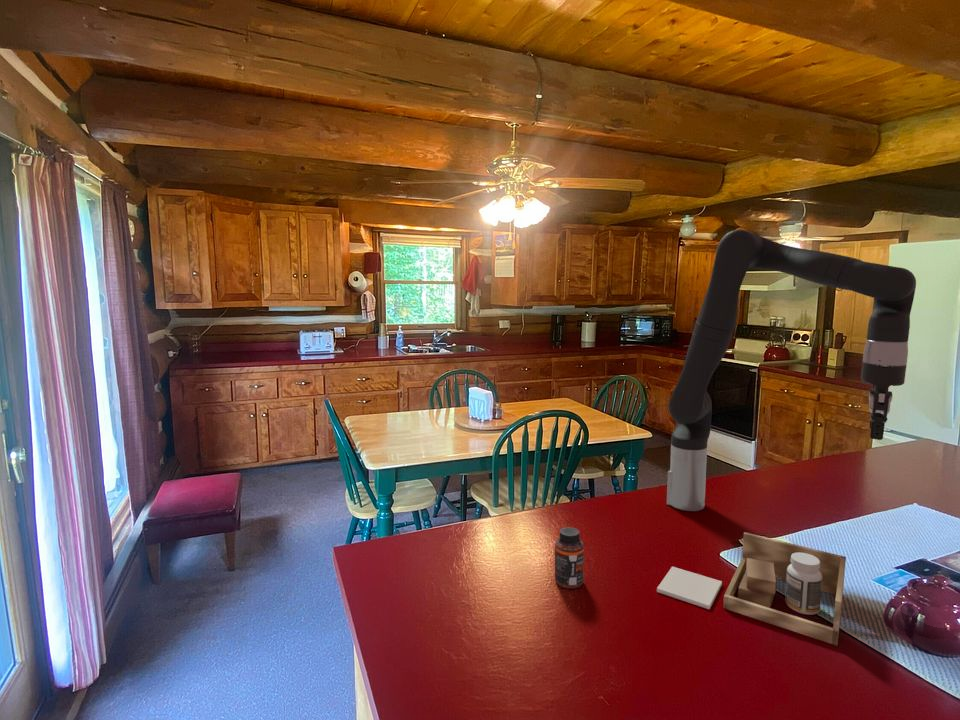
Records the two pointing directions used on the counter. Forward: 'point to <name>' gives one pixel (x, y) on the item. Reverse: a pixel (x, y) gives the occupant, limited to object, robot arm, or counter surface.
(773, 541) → the wooden box frame
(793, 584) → the pill bottle
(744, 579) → the offcut block lower
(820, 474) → the counter surface
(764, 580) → the offcut block upper
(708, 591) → the tile
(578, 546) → the supplement bottle
